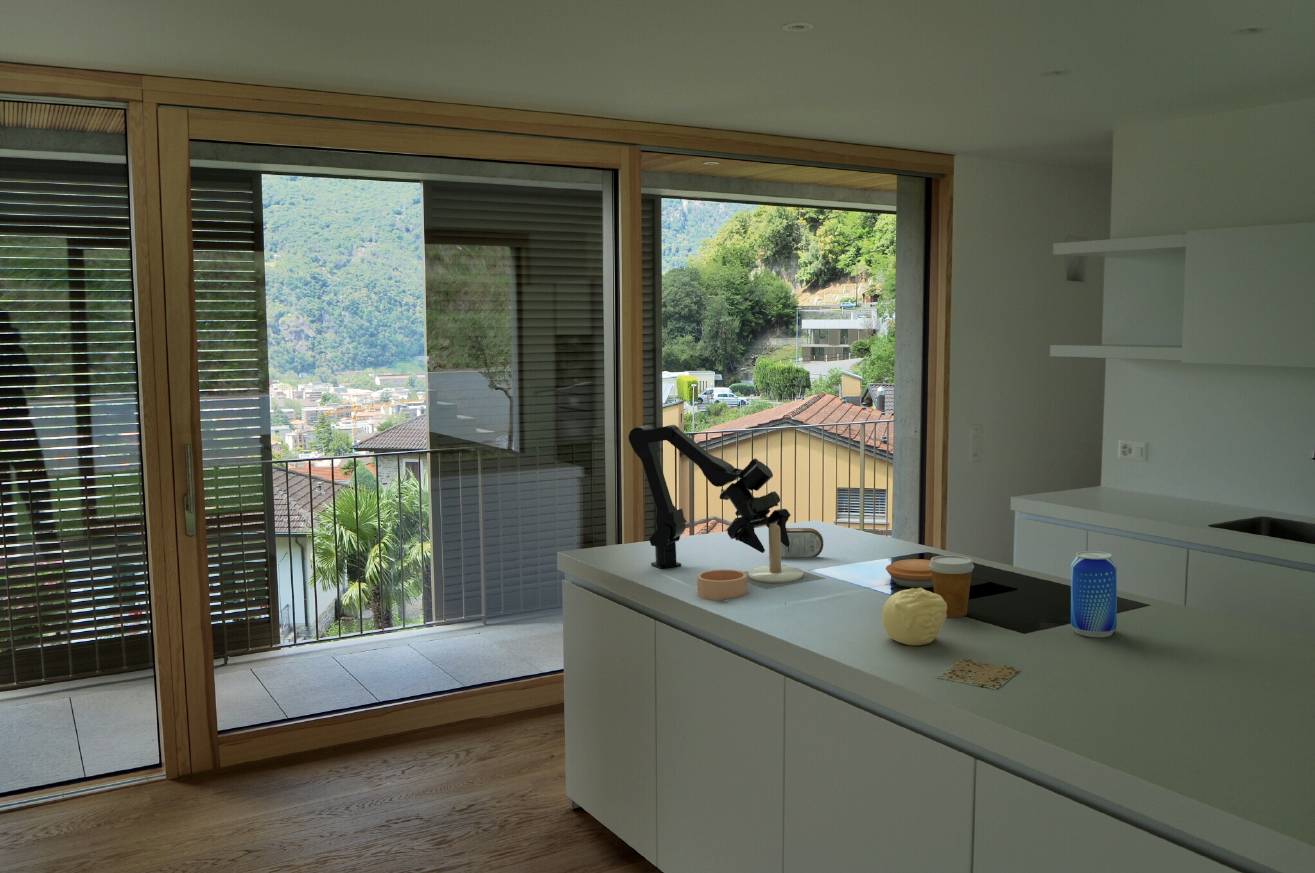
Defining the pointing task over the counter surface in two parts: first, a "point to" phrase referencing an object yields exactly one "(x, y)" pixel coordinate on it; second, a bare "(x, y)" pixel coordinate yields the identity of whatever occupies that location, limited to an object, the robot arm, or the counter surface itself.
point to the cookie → (980, 672)
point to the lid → (775, 563)
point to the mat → (805, 578)
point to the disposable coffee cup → (952, 582)
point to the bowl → (721, 584)
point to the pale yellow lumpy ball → (914, 616)
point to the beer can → (1094, 594)
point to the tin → (802, 543)
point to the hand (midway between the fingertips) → (776, 548)
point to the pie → (911, 573)
